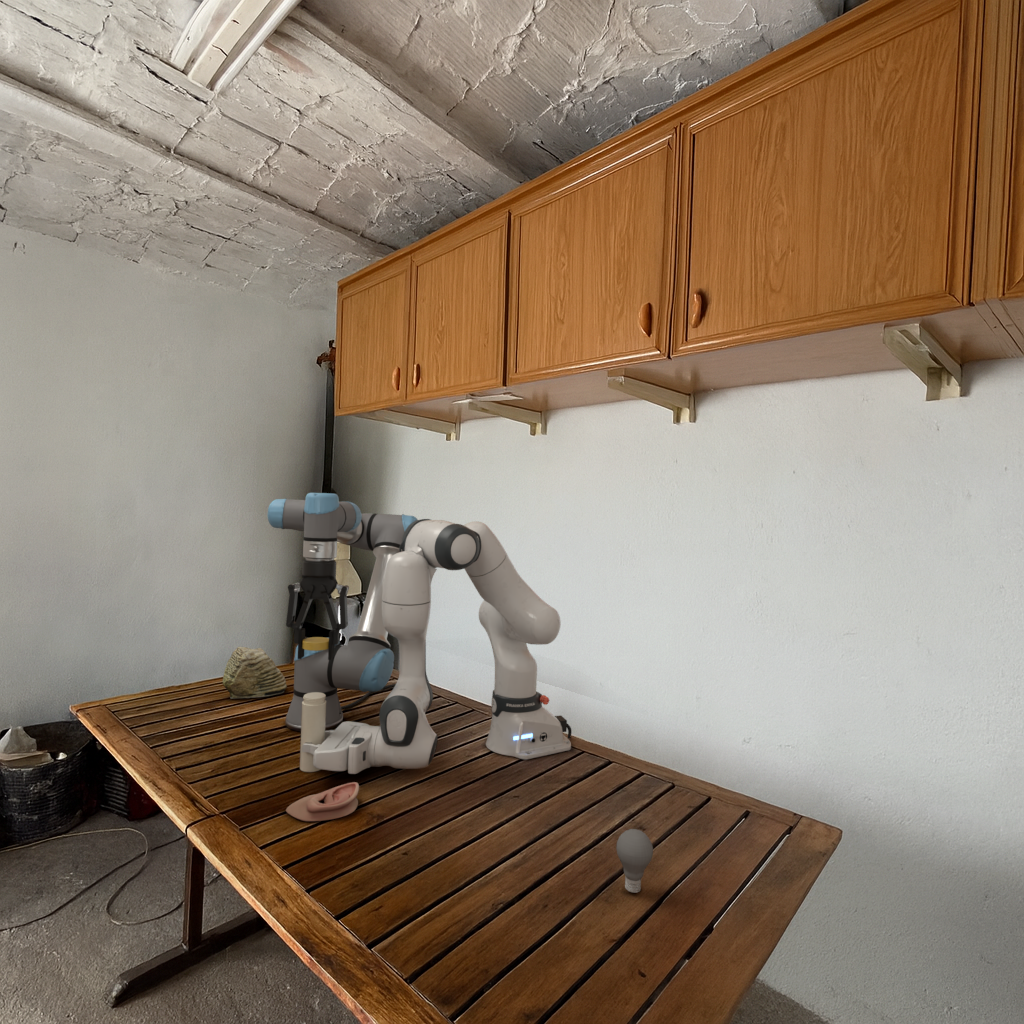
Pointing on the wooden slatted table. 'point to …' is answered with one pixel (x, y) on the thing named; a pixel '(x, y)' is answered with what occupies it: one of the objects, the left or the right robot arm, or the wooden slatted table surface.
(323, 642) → the lid
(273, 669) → the fossil
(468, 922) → the wooden slatted table surface
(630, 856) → the light bulb
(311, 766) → the jar
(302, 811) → the anatomical model
